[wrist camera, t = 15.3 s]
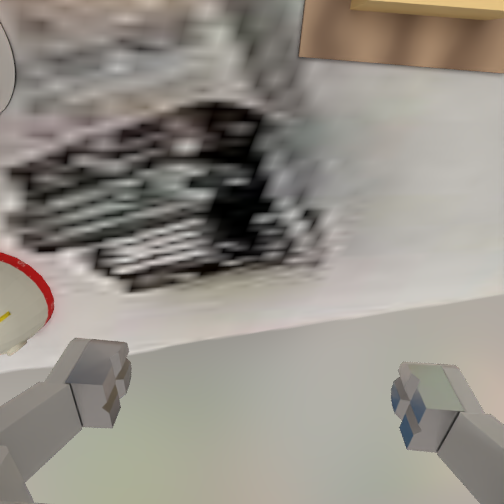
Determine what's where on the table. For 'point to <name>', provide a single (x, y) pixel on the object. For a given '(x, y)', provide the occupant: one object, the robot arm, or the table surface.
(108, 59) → the table surface
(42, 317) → the kitchen timer
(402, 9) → the square hole block
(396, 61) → the base board
